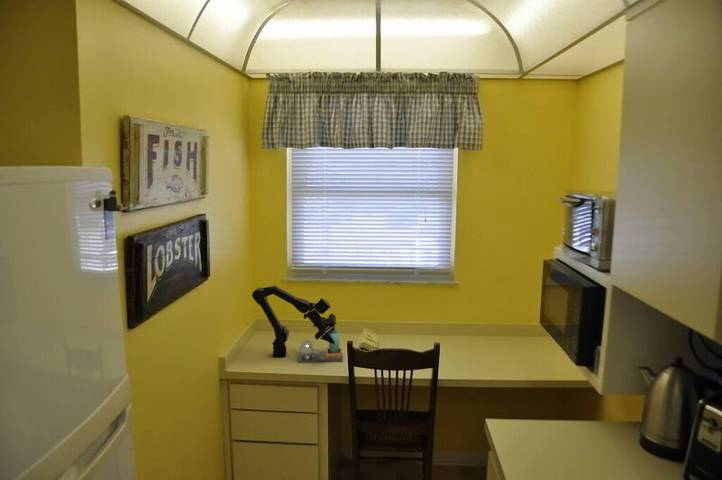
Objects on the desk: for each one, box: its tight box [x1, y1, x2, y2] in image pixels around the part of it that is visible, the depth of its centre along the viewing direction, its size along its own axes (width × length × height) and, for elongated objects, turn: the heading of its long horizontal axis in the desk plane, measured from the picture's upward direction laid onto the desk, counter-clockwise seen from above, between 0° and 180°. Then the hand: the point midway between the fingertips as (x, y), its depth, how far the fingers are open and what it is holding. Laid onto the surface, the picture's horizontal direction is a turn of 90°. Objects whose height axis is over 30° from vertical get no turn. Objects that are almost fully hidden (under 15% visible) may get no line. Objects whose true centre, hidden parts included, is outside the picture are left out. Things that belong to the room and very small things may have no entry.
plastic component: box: [355, 328, 379, 351], centre depth 292 cm, size 20×7×10 cm
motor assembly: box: [297, 339, 344, 363], centre depth 272 cm, size 23×11×8 cm, turn 92°
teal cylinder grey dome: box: [328, 329, 340, 353], centre depth 273 cm, size 5×5×12 cm
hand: (336, 341), depth 272 cm, fingers open, 5 cm apart
